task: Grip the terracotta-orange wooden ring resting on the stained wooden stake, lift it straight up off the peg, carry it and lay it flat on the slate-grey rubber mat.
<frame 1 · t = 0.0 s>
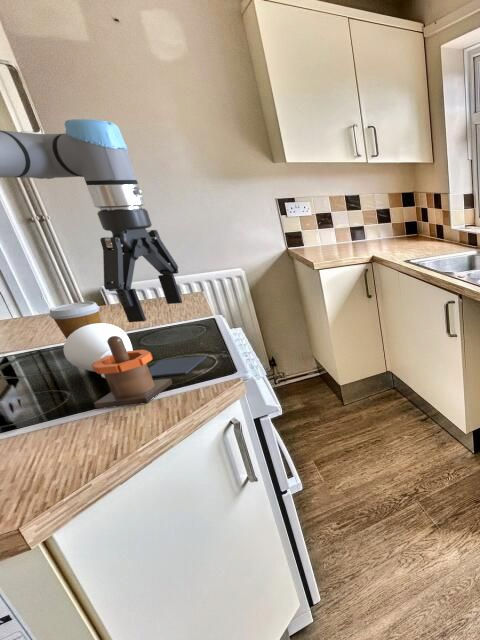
hand: (157, 311, 90), 15 cm above the worktop, tool pointing down, fingers open, 13 cm apart
stake: (136, 395, 87), on the worktop
mat: (173, 367, 100), on the worktop
ring: (124, 364, 85), point 7 cm above the worktop, touching stake
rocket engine: (112, 377, 95), on the worktop, touching mat
disposable coffee cup: (91, 349, 113), on the worktop
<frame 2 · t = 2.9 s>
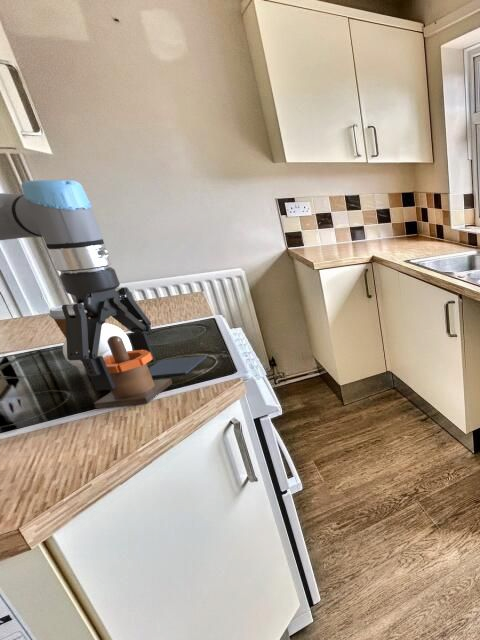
hand: (128, 374, 85), 5 cm above the worktop, tool pointing down, fingers open, 12 cm apart
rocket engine: (112, 377, 95), on the worktop, touching gripper, mat
everything else where it was.
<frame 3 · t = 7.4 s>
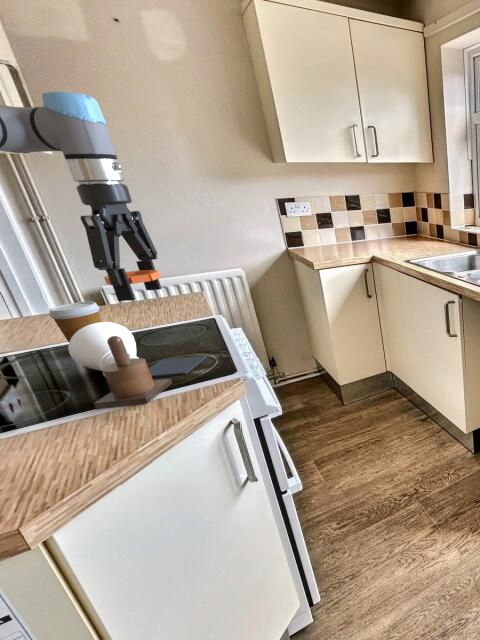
hand: (141, 294, 91), 18 cm above the worktop, tool pointing down, fingers closed on ring, 9 cm apart
ring: (134, 280, 90), point 22 cm above the worktop, touching gripper
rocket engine: (115, 376, 96), on the worktop, touching mat
everything else where it was.
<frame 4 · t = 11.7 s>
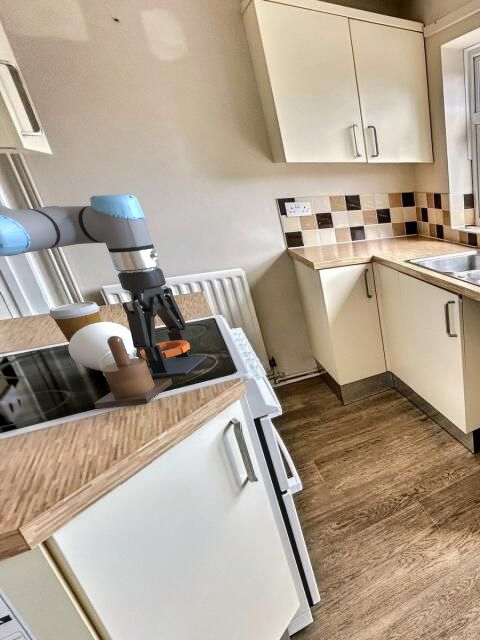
hand: (172, 364, 100), 1 cm above the worktop, tool pointing down, fingers closed on ring, 9 cm apart
ring: (166, 352, 98), point 4 cm above the worktop, touching gripper
everything else where it was.
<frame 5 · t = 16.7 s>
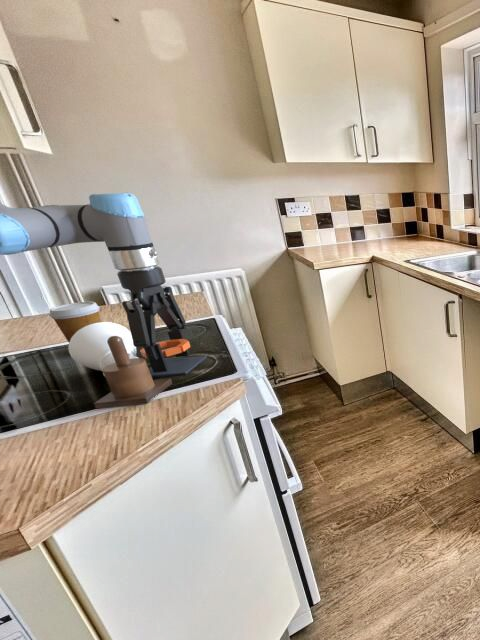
hand: (172, 363, 100), 1 cm above the worktop, tool pointing down, fingers closed on ring, 8 cm apart
ring: (167, 351, 98), point 4 cm above the worktop, touching gripper
everything else where it was.
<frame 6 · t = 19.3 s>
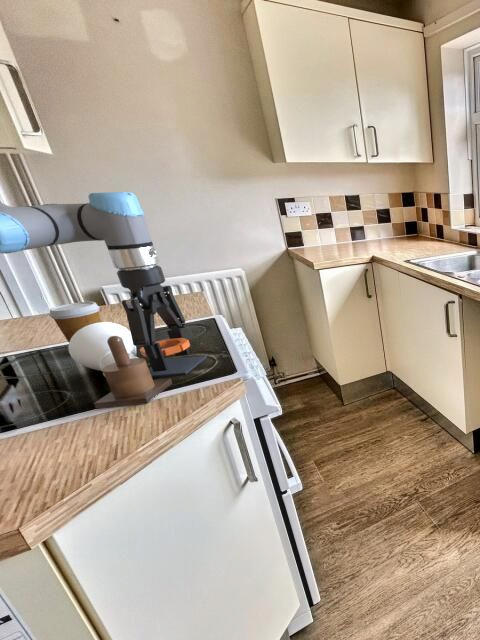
hand: (172, 362, 99), 1 cm above the worktop, tool pointing down, fingers closed on ring, 8 cm apart
ring: (166, 350, 98), point 5 cm above the worktop, touching gripper
everything else where it was.
when the fingers open (2 cm above the worktop, at t = 21.5 s): ring drops 5 cm, resting on mat.
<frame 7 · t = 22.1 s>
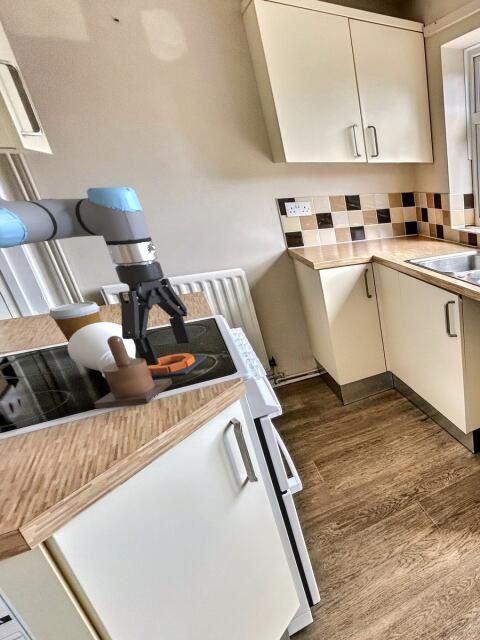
hand: (168, 353, 99), 4 cm above the worktop, tool pointing down, fingers open, 13 cm apart
ring: (171, 365, 100), resting on mat
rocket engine: (114, 377, 96), on the worktop, touching gripper, mat
everything else where it was.
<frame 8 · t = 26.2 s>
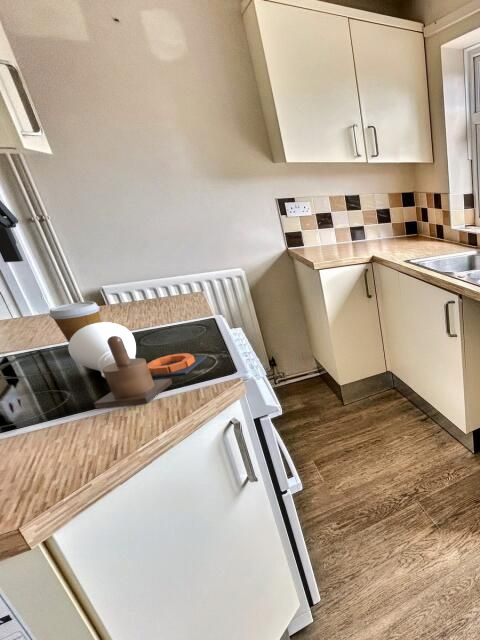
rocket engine: (113, 377, 96), on the worktop, touching mat
everything else where it was.
at the end: ring inside the target area on the mat (0.3 cm from its centre), point 0.5 cm above the mat's base; ring point 0.5 cm above the worktop; ring tilted 0° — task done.
